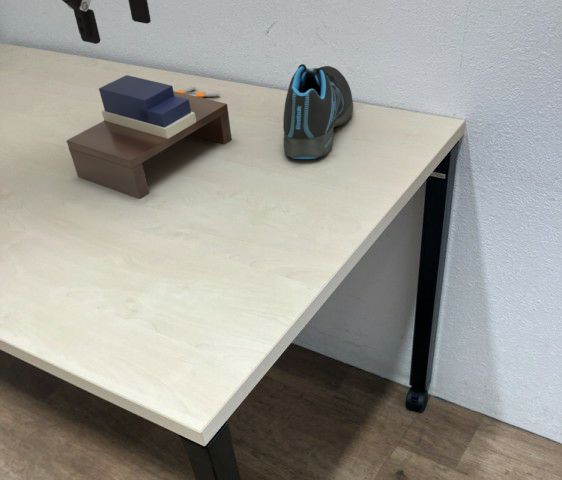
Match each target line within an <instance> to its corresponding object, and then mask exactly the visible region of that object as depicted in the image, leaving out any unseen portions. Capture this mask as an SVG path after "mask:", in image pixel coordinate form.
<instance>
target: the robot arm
mask: <svg viewBox="0 0 562 480" xmlns="http://www.w3.org/2000/svg"><path fill="white" fill-rule="evenodd" d="M61 1H62V2H63V3H65V4H66V5H67V7H68V9H70V10H73V13H74V14H73V15H74V18H75V21H76V25H77V28H78V29H77V30H78V33H79V35H80V39H81V41H83V42H85V43H90V44H94V45H97V44H99V43H100V42H101V36H100V33H99V28H98V23H97V19H96V15H95V12H94V10H93V9H90V6H91V5H90V4H91V1H92V0H61ZM128 6H129V10H130V15H131V20H132V21H133V22H135V23H136V22H137V23H142V24H150V23H151V21H152V20H151V15H150V10H149V3H148V0H128ZM100 44H101V43H100Z"/></svg>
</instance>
